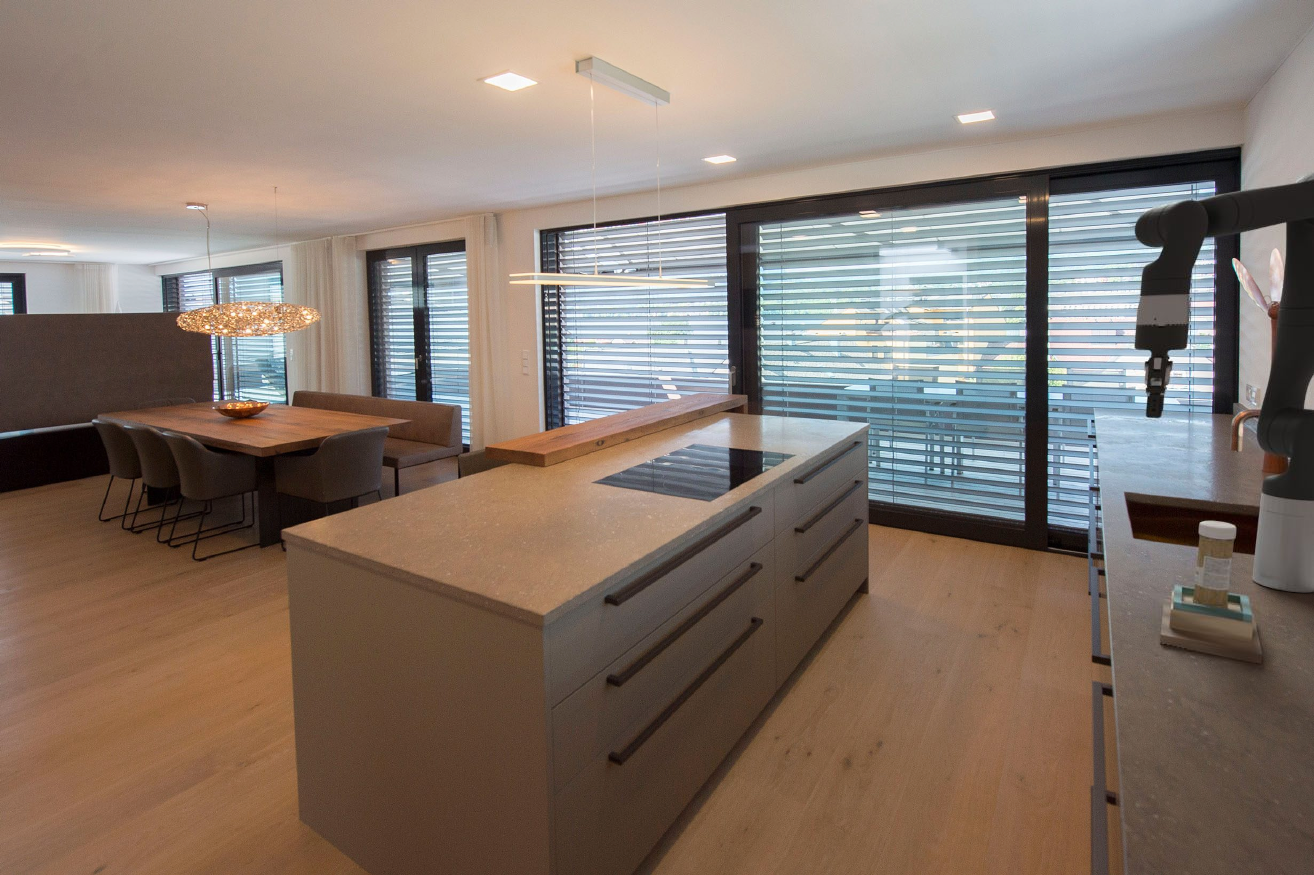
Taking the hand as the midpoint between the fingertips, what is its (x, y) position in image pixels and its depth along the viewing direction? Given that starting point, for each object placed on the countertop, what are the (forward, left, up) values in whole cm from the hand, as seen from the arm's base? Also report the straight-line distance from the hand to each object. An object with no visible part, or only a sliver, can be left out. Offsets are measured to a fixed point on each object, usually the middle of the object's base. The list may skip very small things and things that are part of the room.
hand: (1154, 415), depth 125 cm
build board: (+8, +15, -33) cm, 37 cm away
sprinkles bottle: (+8, +15, -29) cm, 33 cm away
